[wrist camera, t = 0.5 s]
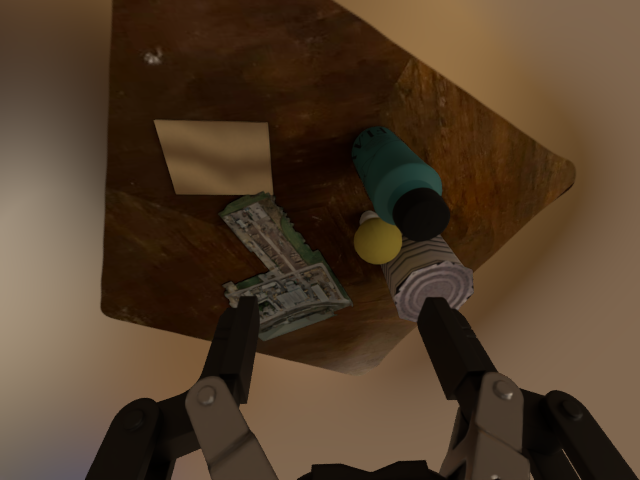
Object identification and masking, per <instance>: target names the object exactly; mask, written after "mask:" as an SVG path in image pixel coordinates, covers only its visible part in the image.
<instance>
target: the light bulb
mask: <svg viewBox="0 0 640 480" xmlns="http://www.w3.org/2000/svg"><path fill="white" fill-rule="evenodd" d="M354 246H355V250H356V251H357V253H358V254H359V256H360V257H361V258H362V259H364V260H365V261H367V262H369V263H372V264H384V263H387V262H389V261H391V260H392V259H394V258H395V257H396V256H397V254H398V253H399V252H400V249H401V246H402V235H401V232H400V230H399V229H398V228H397V227H396V226H395V225H391V224H388V223H386V222H385V221H383V220H382V219H381V218H380V217H379V216H378V215H377V213H375V212H373V211H366V212H364V213H363V214H362V216H361V218H360V227H359V228H358V230H357V232H356V233H355V236H354Z"/></svg>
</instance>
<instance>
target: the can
mask: <svg viewBox="0 0 640 480" xmlns="http://www.w3.org/2000/svg"><path fill="white" fill-rule="evenodd" d="M400 232H401V231H400ZM401 235H402V246H401V249H400V252H399V253H398V254H397V256H396V257H395V258H394V259H392V260H391V261H389V262H387V263H384V264H380V265H381V267H382V270H383V273H384V276H385V278H386V281H387V284H388V287H389V290H390V292H391V295H392V298H393V301H394V304H395V305H396V307H397V310H398V314H399V317H400V318H402V319H406V320H410V321H414V322H417V319H418V316H419V313H420V311H421V308H422V306H423V303H424V301H425V299H426V298H427V297H444V298H445V299H446V300H447V302H448V304H449V305H450V307H451V308H456V309H457V310H458V309H459V308H460V307H461V306H462V305H463V304H464V302H465V301H466V300H467V299H468V298H469V297H470V296H471V295H472V294H473V293H474V292H473V291H474V290H473V273H472V270H471V269H469V268H466V267H464V266H463V265H462V263H461V262H460V261H459V259H458V258H457V257H456V255H455V254H454V253H453V251H452V250H451V249H450V247H449V246H448V245H447V243H446V242H445V241H444V239H443V238H442V237H441V236H440V234H439V235H438V236H437V237H435V238H433V239H431V240H428V241H423V242H416V241H411V240H409V239H408V238H406V237H405V236H404V235H403V234H402V233H401Z"/></svg>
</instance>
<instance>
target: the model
mask: <svg viewBox="0 0 640 480" xmlns="http://www.w3.org/2000/svg"><path fill="white" fill-rule="evenodd" d="M275 197H276V196H272V195H270V193H269V192H268V193H266V194H265V192H264V191H261V192H259V193H257V194H256V195H254V196H252V197H250V195H249V194H247V195H246V196H244V197H242V198H240V199H238V200H236V201H234V202H232V203H230V204H228V205H227V207H226V208H225V209H224V211H222V212H220V213H218V214H219V215H220V217H221V218H222V219H223V220H224V221H225V223H226V224H227V225H228V226H229V227H230V228H231V230H232V231H233V232H234V233H235V234H236V235H237V237H238V238H239V239H240V240H241V241H242V242H243V244H244V245H245V246H246V247H247V248H248V249H249V251H250V252H252V251H254V252H255V253H256V255H257V256H258V257H259V258H260V259H261V260H262V262H263V263H264V264H265V265H266V266H267V268H268V269H269V270H270V271H269V272H268V273H265V274H260V275H257V276H255V277H253V278H250V279H248V280H246V281H243V282H241V283H238V284H236V285H234V284H233V283H232V282H229V283H226V284H224V285H222V286H223V287H225V288H227V289H226V290H227V291H226V292H225V294H224V295H225V296H226V297H227V298H228V299H229V300H230V302H229V305H231V306H232V308H237V305H238V301H239V298H240V296H257V298H258V306H259V314H260V328H259V334H258V337H259V338H261V339H262V340H263V341H265V340H268V339H271V338H274V337H277V336H279V335H282V334H285V333H288V332H291V331H293V330H296V329H299V328H302V327H305V326H307V325H310V324H313V323H316V322H319V321H321V320H324V319H327V318H330V317H333V316H335V315H334V312H333V311H336V310H339V309H341V308H344V307H347V306H350V305H352V307H353V302H352V301H351V299H350V298H349V296H348V295H347V293H346V292H345V290H344V288H343V287H342V285H341V284H340V282H339V281H338V279H337V278H336V276H335V274H334V273H333V271H332V270H331V268H330V267H329V265H328V264H327V262H326V260H325V259H324V257H323V256H322V254H321V253H320V251H319V250H316V251H314V252H312V250H311V249H310V247H309V246H308V245H307V244H303V243H304V242H305V240H304V238H303V237H302V235H301V234H300V233H298V232H295V230H294V229H293V225H294V224H293V223H289V222H290V218H286V215H287V213H284V212H282V211H283V208H282V207H278V206H276V204H275ZM337 315H338V314H337Z"/></svg>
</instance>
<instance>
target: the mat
mask: <svg viewBox="0 0 640 480" xmlns="http://www.w3.org/2000/svg"><path fill="white" fill-rule="evenodd" d="M154 123H155V126H156V129H157V133H158V136H159V139H160V143H161V146H162V149H163V153H164V156H165V159H166V162H167V166H168V169H169V172H170V176H171V179H172V182H173V186H174V189H175V192H176V194H212V195H247V194H249V195H256V194H257V193H259V192H261V191H264V192H265V194H266V193H268V192H269V193H270V195H273V183H272V169H271V156H270V143H269V130H268V122H246V121H205V120H163V119H156V120H154Z"/></svg>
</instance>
